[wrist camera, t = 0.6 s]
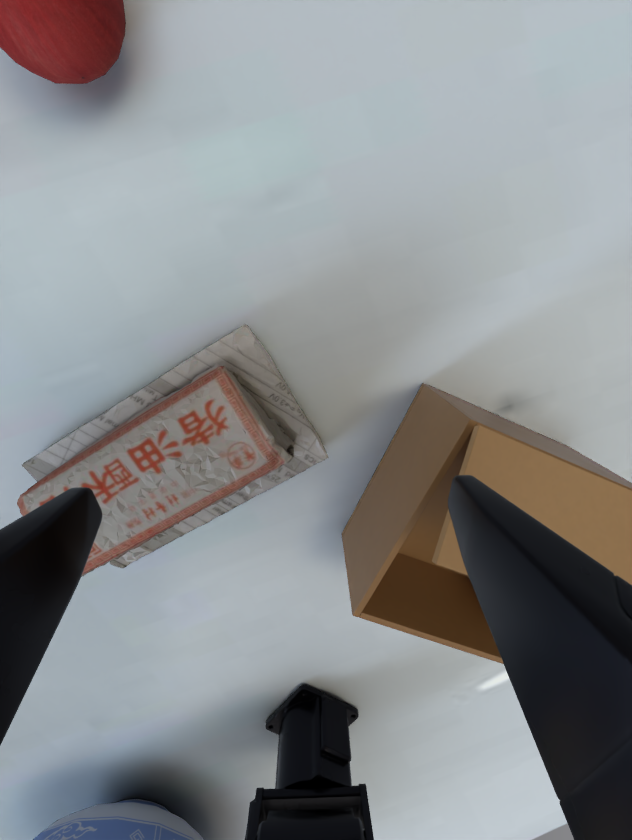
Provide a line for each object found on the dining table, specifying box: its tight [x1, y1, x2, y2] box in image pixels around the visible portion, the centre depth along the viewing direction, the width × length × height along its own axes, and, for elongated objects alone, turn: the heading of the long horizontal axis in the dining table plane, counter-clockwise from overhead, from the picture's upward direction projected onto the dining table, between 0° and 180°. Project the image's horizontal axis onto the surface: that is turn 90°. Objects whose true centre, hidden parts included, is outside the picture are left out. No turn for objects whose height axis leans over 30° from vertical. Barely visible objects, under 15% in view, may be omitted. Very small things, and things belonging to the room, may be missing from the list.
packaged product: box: [17, 324, 328, 577], centre depth 23 cm, size 18×5×10 cm
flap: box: [432, 425, 632, 585], centre depth 16 cm, size 6×12×1 cm, turn 67°
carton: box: [342, 383, 632, 664], centre depth 23 cm, size 13×12×7 cm
